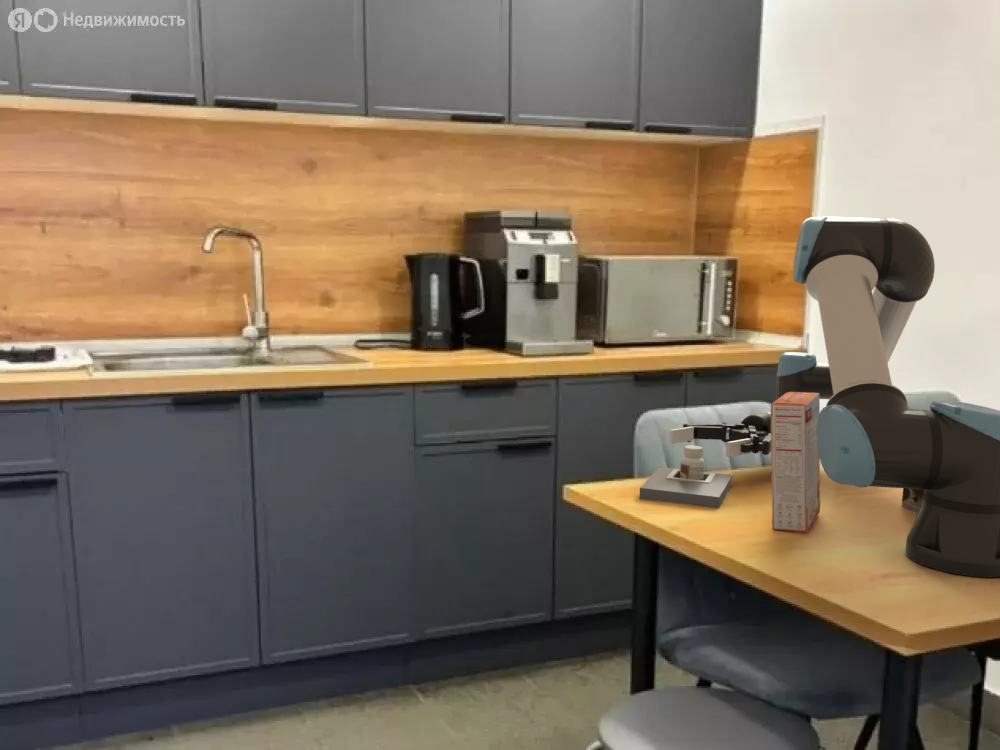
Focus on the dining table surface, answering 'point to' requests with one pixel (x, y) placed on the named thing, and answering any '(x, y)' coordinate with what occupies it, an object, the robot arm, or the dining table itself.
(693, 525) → the dining table surface
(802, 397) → the cracker box
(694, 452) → the pill bottle
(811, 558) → the dining table surface
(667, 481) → the socket plate
